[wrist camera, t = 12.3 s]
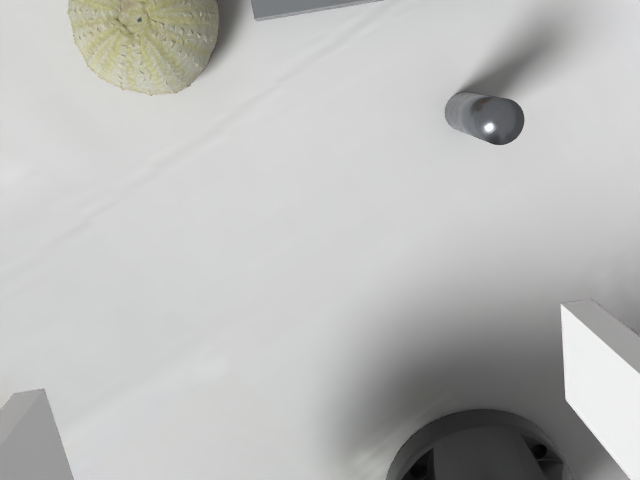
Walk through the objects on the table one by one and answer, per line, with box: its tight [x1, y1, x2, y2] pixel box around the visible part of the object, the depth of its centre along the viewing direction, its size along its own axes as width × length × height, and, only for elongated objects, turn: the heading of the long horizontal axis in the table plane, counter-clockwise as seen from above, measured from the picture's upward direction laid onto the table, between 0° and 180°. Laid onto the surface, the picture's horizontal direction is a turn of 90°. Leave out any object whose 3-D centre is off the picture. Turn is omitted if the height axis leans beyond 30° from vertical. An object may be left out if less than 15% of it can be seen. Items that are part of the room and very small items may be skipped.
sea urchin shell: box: [68, 0, 220, 96], centre depth 38 cm, size 9×8×8 cm
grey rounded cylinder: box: [445, 92, 524, 145], centre depth 38 cm, size 3×3×8 cm
